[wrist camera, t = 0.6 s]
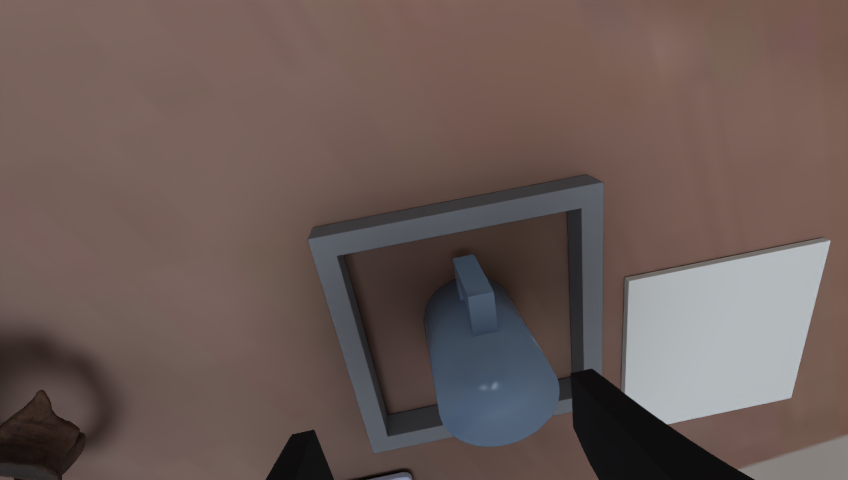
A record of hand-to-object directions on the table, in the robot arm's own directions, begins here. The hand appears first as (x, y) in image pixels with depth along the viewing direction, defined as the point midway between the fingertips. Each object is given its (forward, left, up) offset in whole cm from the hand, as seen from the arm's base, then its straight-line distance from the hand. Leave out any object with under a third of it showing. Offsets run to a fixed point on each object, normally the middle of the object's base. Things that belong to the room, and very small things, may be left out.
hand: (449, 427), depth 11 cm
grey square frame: (-3, -2, -9) cm, 10 cm away
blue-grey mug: (-3, -2, -10) cm, 10 cm away
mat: (-8, -16, -9) cm, 20 cm away
